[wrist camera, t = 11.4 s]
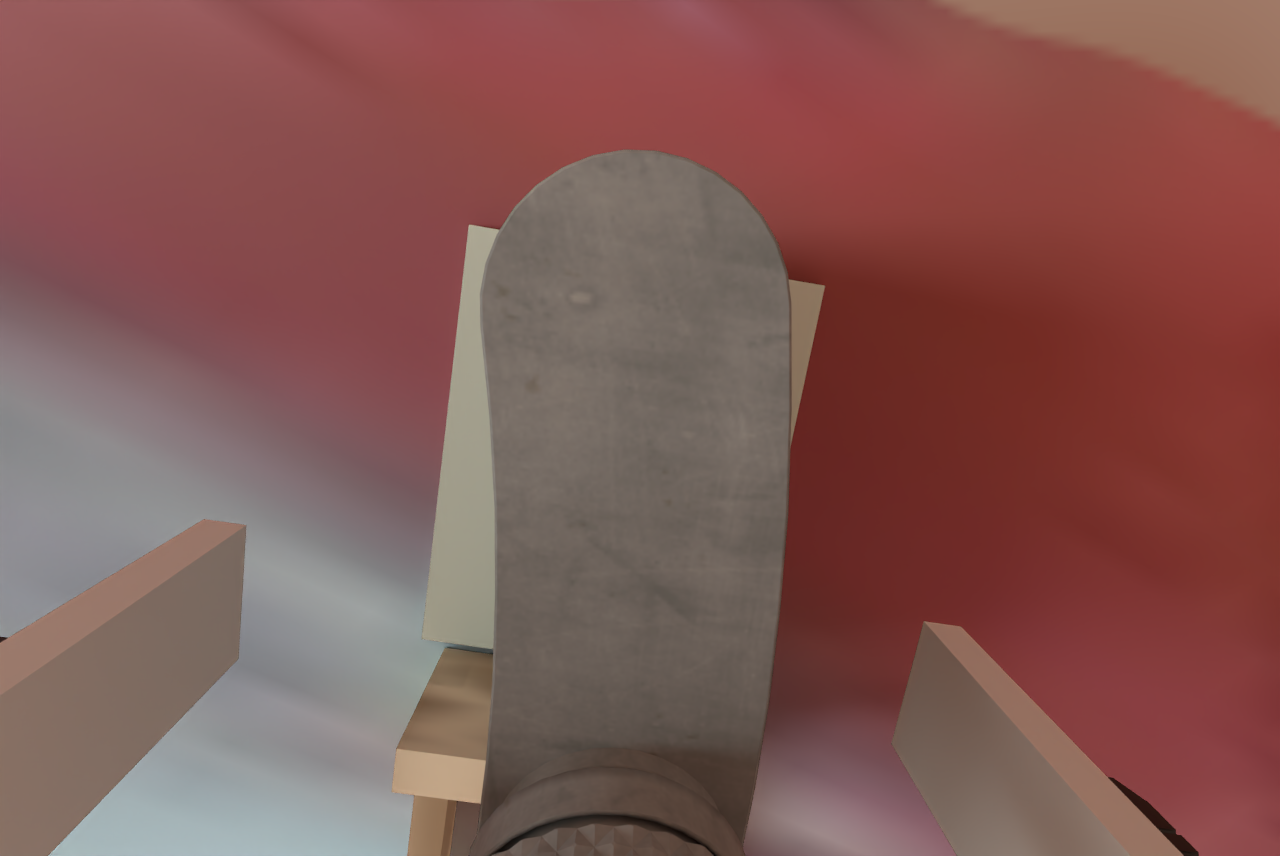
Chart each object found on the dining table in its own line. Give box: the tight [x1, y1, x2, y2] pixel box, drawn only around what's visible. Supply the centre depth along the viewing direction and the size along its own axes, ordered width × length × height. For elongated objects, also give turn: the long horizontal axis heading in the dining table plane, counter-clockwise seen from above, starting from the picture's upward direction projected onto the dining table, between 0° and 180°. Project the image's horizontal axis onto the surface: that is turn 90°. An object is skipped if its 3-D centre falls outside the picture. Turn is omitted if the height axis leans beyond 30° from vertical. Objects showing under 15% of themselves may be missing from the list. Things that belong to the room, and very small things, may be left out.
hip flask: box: [469, 150, 792, 856], centre depth 16 cm, size 16×4×20 cm, turn 171°
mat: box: [422, 225, 825, 649], centre depth 26 cm, size 12×15×1 cm
